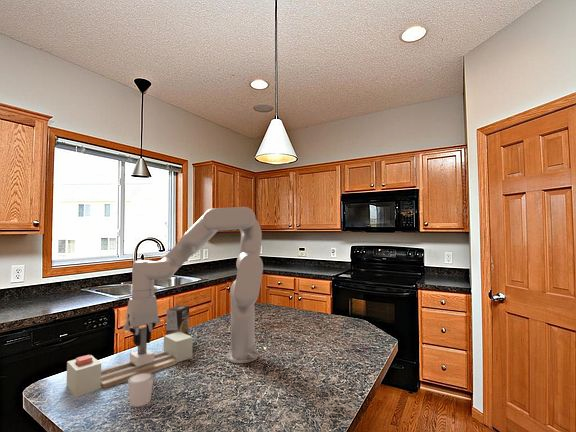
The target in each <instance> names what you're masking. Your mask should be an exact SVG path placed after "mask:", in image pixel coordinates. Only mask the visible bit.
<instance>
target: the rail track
mask: <svg viewBox="0 0 576 432" xmlns="http://www.w3.org/2000/svg"><path fill="white" fill-rule="evenodd" d="M174 365H177V363H176V360H175V359H173V358H172V355H166V351H164V350H163V351H160V352H156V353H154V362H151V363H147V364H144V365H141V366H138V367H137V366H136V365H134V364H133V363H132V362H130V360H129V361H126V362H123V363H120V364H116V365H113V366H110V367H106V368H103V369H101V389H103V390H105V389H108V388H110V387H113V386H116V385H117V386H118V385H120V384H122V383H126V382H128V380H129V378H130V377H131V376H133V375H136V374H139V373H151V374H153V373H154V372H157V371H161V370H162V369H166V368H168V367H171V366H174Z"/></svg>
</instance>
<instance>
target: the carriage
mask: <svg viewBox="0 0 576 432" xmlns="http://www.w3.org/2000/svg"><path fill="white" fill-rule="evenodd" d="M139 335H140V345H139V346H137V350H136V351H132V352H129V361H130V362H132V363H133V364H134V365H136V366H137V367H138V366H141V365H144V364H147V363H151V362H154V354H155V352H154V351H151V350H149V349H148V348H147V345H148V343H147V327H146V326H142V327H139Z"/></svg>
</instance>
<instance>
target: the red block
mask: <svg viewBox="0 0 576 432" xmlns="http://www.w3.org/2000/svg"><path fill="white" fill-rule="evenodd" d="M90 355H91V354H87V355H82V356H78V357H75V359H76V365H77V366H78V367H79V366H82V365H86V364H89V363H92V357H91V356H90Z"/></svg>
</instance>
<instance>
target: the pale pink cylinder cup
mask: <svg viewBox="0 0 576 432" xmlns="http://www.w3.org/2000/svg"><path fill="white" fill-rule="evenodd" d="M127 382H128V395H129V404H130V406H131V407H136V408H137V407H142V406H146V405H147V404H148V403H149V402H151V400H152V399H151V398H152V392H153V382H154V374H153V373H139V374H136V375H133V376H131V377H130V378H129V380H128V381H127Z"/></svg>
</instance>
